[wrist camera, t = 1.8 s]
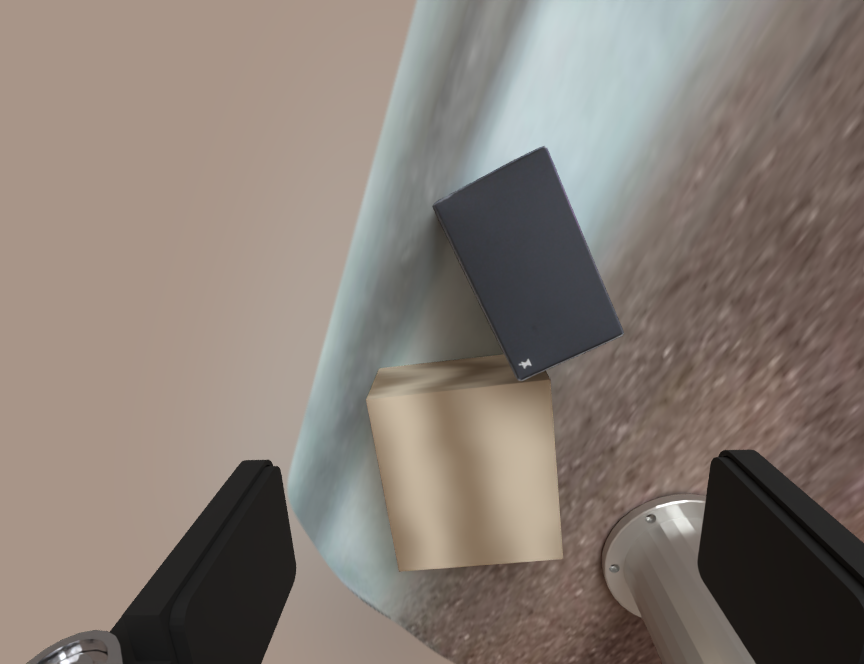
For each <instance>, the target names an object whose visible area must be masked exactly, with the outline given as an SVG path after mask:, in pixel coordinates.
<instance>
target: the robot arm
mask: <svg viewBox="0 0 864 664" xmlns="http://www.w3.org/2000/svg"><path fill="white" fill-rule="evenodd" d="M602 569H603V575H604V577H605V580H606V583H607V585H608V588H609V590H610V591H611V593H612V595H613V597H614V598H615V599H616V600H617V601H618V602H619V604H620V605H621V606H622V607H624V608H625V609H626V610H628V611H629V612H631V613H632V614H634V615H636V616H638V617H640V618H642V619H643V621H644V623H645V625H646V628H647V630H648V632H649V635H650V637H651V639H652V641H653V644H654V646H655V648H656V650H657V653H658V655H659V657H660V659H661V662H662V664H864V543H863V542H861V541H860V540H859V539H858V538H857V537H856V536H855V535H853V534H852V533H851V532H850V531H849V530H848V529H846V528H845V527H844V526H843V525H842V524H841V523H839V522H838V521H837V520H836V519H835V518H834V517H832V516H831V515H830V514H829V513H828V512H827V511H825V510H824V509H823V508H822V507H821V506H820V505H818V504H817V503H816V502H815V501H814V500H813V499H811V498H810V497H809V496H808V495H807V494H806V493H804V492H803V491H802V490H801V489H800V488H799V487H797V486H796V485H795V484H794V483H793V482H792V481H790V480H789V479H788V478H787V477H786V476H785V475H783V474H782V473H781V472H780V471H779V470H778V469H776V468H775V467H774V466H773V465H772V464H771V463H769V462H768V461H767V460H766V459H765V458H764V457H762V456H761V455H760V454H759V453H758V452H756V451H754V450H724V451H722V452H721V453H720V454H719V457H715V458H713V460H712V461H711V466H710V473H709V480H708V487H707V495H706V496H704V495H695V494H676V495H670V496H665V497H660V498H657V499H654V500H652V501H649V502H646V503H644V504H642V505H641V506H639V507H637V508H635V509H634V510H632V511H631V512H629V513H628V514H627V515H626V516H625V517H623V518H622V519H621V520H620V521H619V522H618V524H617V525H616V526H615V527H614V528H613V529H612V531H611V533H610V535H609V536H608V538H607V540H606V542H605V546H604V549H603V552H602ZM295 575H296V561H295V555H294V549H293V543H292V537H291V531H290V524H289V519H288V512H287V506H286V500H285V494H284V488H283V482H282V475H281V471H280V468H279V467H278V466H273V464H272V462H271V461H270V460H246V461H242V462H241V463H240V464H239V466H238V467H237V468H236V470H235V471H234V472H233V473H232V475H231V476H230V477H229V478H228V480H227V481H226V482H225V484H224V485H223V486H222V487H221V489H220V490H219V491H218V493H217V494H216V495H215V497H214V498H213V499H212V500H211V502H210V503H209V504H208V505H207V507H206V508H205V509H204V511H203V512H202V513H201V515H200V516H199V517H198V519H197V520H196V521H195V522H194V523H193V525H192V526H191V527H190V529H189V530H188V531H187V533H186V534H185V535H184V536H183V538H182V539H181V540H180V542H179V543H178V544H177V545H176V547H175V548H174V550H172V552H171V553H170V554H169V556H168V557H167V558H166V560H165V561H164V562H163V563H162V565H161V566H160V567H159V568H158V570H157V571H156V572H155V574H154V575H153V576H152V577H151V579H150V580H149V581H148V583H147V584H146V585H145V587H144V588H143V589H142V590H141V592H140V593H139V594H138V596H137V597H136V598H135V599H134V601H133V602H132V603H131V605H130V606H129V607H128V608H127V610H126V611H125V612H124V614H123V615H122V617H121V618H120V619H119V621H118V622H117V623H116V624H115V626H114V627H113V628H112V630H111V631H110V632H108V631H100V630H93V631H87V632H82V633H78V634H76V635H73V636H70V637H68V638H65V639H62V640H60V641H59V642H57V643H55V644H53V645H52V646H50V647H48V648H46V649H45V650H43V651H42V652H40V653H39V654H38V655H37V656H35V657H34V658H33V659H31V660H30V661H29V662H27V663H26V664H261V663H262V660H263V657H264V655H265V652H266V650H267V648H268V645H269V643H270V640H271V638H272V635H273V633H274V630H275V628H276V625H277V623H278V620H279V618H280V616H281V613H282V611H283V608H284V606H285V603H286V601H287V598H288V596H289V593H290V591H291V588H292V586H293V583H294V580H295Z"/></svg>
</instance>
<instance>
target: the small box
mask: <svg viewBox="0 0 864 664" xmlns="http://www.w3.org/2000/svg"><path fill="white" fill-rule="evenodd" d="M433 209H434V211H435V213H436V215H437V217H438V219H439V221H440V223H441V225H442V228H443V230H444V232H445V234H446V236H447V238H448V240H449V242H450V244H451V246H452V248H453V250H454V252H455V254H456V256H457V258H458V261H459V262H460V265H461V267H462V269H463V271H464V273H465V275H466V277H467V279H468V281H469V283H470V285H471V288H472V290H473V292H474V293H475V295H476V297H477V299H478V302H479V304H480V306H481V308H482V310H483V312H484V314H485V316H486V318H487V320H488V322H489V324H490V326H491V328H492V330H493V332H494V334H495V336H496V339H497V341H498V343H499V344H500V347H501V349H502V351H503V353H504V355H505V357H506V359H507V361H508V363H509V365H510V367H511V369H512V371H513V373H514V375H515V377H516V379H517V380H519V381H524V380H526V379H528V378H530V377H532V376H534V375H536V374H538V373H541V372H543V371H545V370H548V369H550V368H552V367H554V366H557V365H559V364H561V363H563V362H565V361H567V360H570V359H572V358H574V357H577V356H579V355H581V354H583V353H585V352H588V351H590V350H592V349H594V348H597V347H599V346H601V345H603V344H606V343H608V342H610V341H612V340H615V339H616V338H619V337H621V336H622V335H623V334H624V332H623V329H622V326H621V324H620V322H619V319H618V317H617V314H616V312H615V310H614V307H613V305H612V303H611V300H610V298H609V296H608V293H607V291H606V288H605V286H604V284H603V281H602V279H601V277H600V274H599V272H598V269H597V267H596V265H595V262H594V260H593V258H592V255H591V253H590V250H589V248H588V246H587V243H586V241H585V238H584V236H583V234H582V231H581V229H580V226H579V224H578V221H577V219H576V217H575V214H574V212H573V209H572V207H571V205H570V202H569V200H568V197H567V195H566V192H565V190H564V188H563V185H562V183H561V180H560V178H559V175H558V173H557V170H556V168H555V165H554V163H553V161H552V158H551V156H550V153H549V151H548V149H547V148H546V147H545V146H543V147H540V148H538V149H535V150H533V151H531V152H529V153H527V154H525V155H523V156H521V157H519V158H517V159H515V160H513V161H511V162H509V163H508V164H506V165H504V166H502V167H500V168H498V169H496V170H494V171H493V172H491V173H489V174H487V175H485V176H483V177H481V178H479V179H478V180H476V181H474V182H472V183H470V184H468V185H466V186H465V187H463V188H461V189H459V190H457V191H455V192H453V193H451V194H450V195H448V196H446V197H444V198H442V199H440V200H438V201H437V202H435V203H434V204H433Z"/></svg>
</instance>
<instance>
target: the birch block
mask: <svg viewBox="0 0 864 664" xmlns="http://www.w3.org/2000/svg"><path fill="white" fill-rule="evenodd" d="M366 402H367V407H368V412H369V417H370V422H371V428H372V433H373V438H374V443H375V449H376V454H377V459H378V464H379V469H380V475H381V480H382V485H383V490H384V495H385V501H386V506H387V511H388V516H389V522H390V527H391V532H392V537H393V542H394V548H395V553H396V558H397V563H398V568H399V572H401V571H414V570H427V569H440V568H452V567H465V566H478V565H491V564H504V563H517V562H530V561H543V560H555V559H563V552H562V538H561V524H560V510H559V495H558V481H557V467H556V453H555V439H554V425H553V411H552V397H551V382H550V378H549V376H548V374H547V372H546V370H545V371H543V372H541V373H538V374H536V375H534V376H532V377H530V378H528V379H526V380H524V381H519V380H517V379H516V377H515V375H514V373H513V371H512V369H511V367H510V365H509V363H508V361H507V359H506V357H505V355H504V354H502V355H493V356H484V357H475V358H466V359H457V360H449V361H440V362H431V363H422V364H413V365H404V366H396V367H387V368H379V370H378V373H377V375H376V377H375V380H374V382H373V384H372V387H371V389H370V392H369V394H368V396H367V399H366Z"/></svg>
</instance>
